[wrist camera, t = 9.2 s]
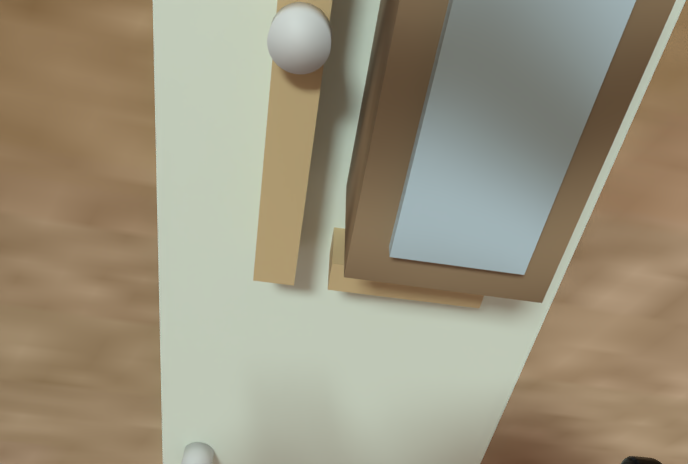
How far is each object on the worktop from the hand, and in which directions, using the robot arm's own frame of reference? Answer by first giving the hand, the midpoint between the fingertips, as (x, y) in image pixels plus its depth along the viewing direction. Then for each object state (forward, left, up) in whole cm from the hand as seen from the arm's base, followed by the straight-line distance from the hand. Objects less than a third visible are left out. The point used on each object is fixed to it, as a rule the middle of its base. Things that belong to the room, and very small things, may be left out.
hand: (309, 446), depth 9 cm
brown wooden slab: (+3, +3, -11) cm, 12 cm away
